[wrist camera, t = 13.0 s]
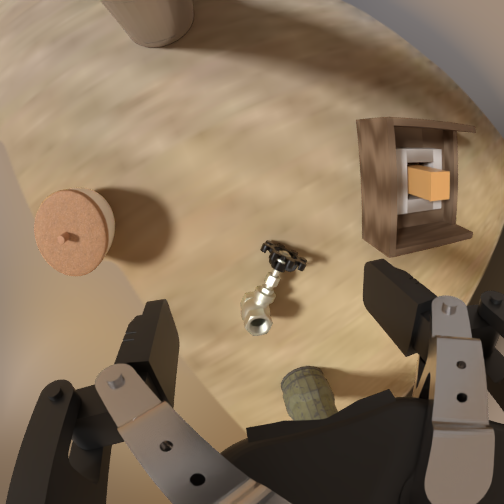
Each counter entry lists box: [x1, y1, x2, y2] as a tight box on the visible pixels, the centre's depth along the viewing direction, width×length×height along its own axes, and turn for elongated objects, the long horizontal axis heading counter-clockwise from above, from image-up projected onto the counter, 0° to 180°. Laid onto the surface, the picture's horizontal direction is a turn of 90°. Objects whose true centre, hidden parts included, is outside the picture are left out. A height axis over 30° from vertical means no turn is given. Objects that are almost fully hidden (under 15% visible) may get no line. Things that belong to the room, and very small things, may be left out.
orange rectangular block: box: [407, 165, 450, 201], centre depth 36 cm, size 4×4×8 cm
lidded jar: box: [34, 187, 115, 276], centre depth 31 cm, size 11×11×9 cm
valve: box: [240, 240, 307, 336], centre depth 39 cm, size 7×7×12 cm
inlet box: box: [356, 117, 476, 258], centre depth 36 cm, size 18×18×8 cm
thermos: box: [281, 366, 338, 421], centre depth 36 cm, size 9×12×35 cm
